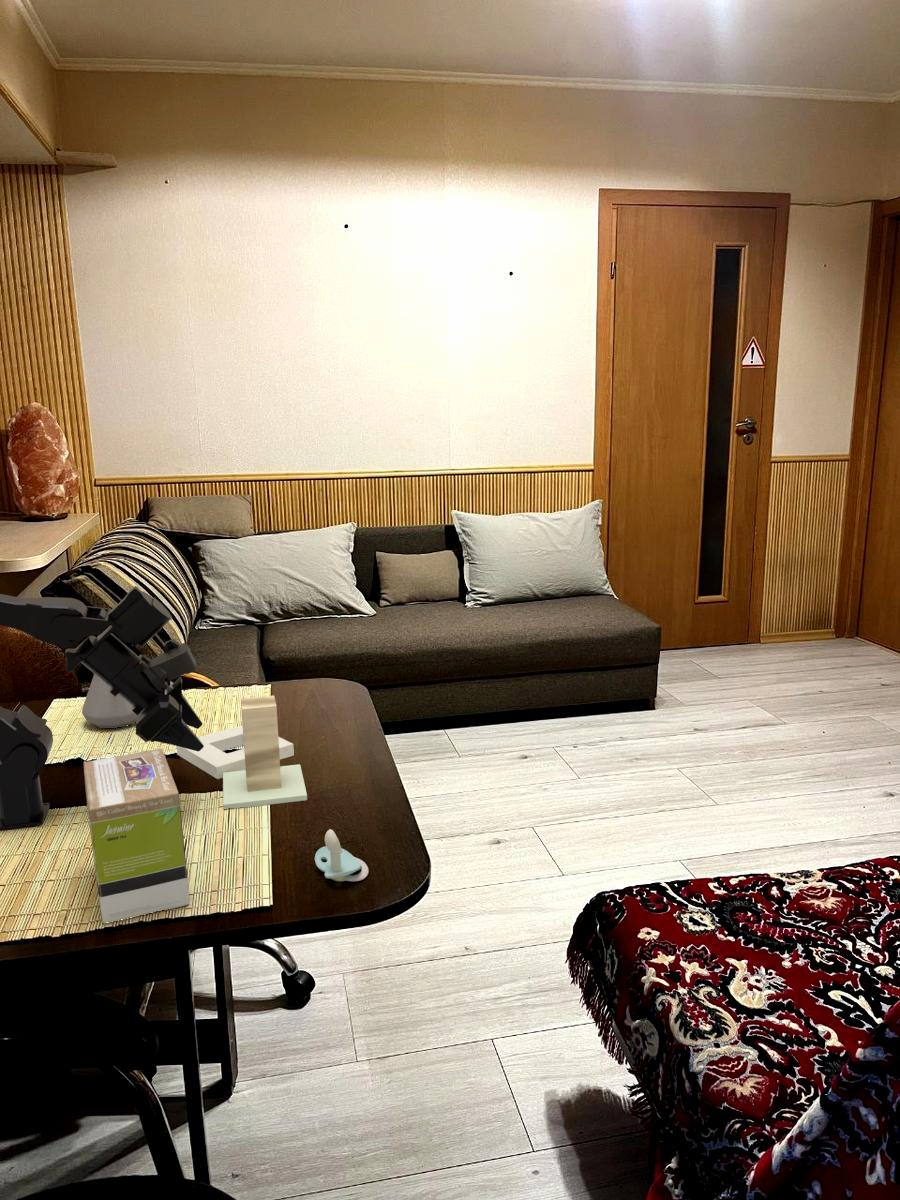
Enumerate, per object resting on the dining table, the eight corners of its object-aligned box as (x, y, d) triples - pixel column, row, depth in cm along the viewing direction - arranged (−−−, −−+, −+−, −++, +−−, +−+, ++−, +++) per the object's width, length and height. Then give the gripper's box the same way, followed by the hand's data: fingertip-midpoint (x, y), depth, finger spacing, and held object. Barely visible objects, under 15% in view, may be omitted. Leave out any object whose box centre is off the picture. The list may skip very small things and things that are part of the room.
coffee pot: (80, 717, 172) (72, 640, 169) (144, 707, 177) (137, 632, 174) (92, 756, 153) (83, 670, 150) (163, 743, 158) (155, 660, 155)
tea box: (93, 867, 117) (81, 758, 114) (174, 850, 121) (165, 745, 118) (101, 927, 103) (87, 806, 100) (192, 907, 107) (182, 789, 104)
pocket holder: (294, 755, 152) (293, 744, 152) (217, 779, 143) (216, 767, 143) (251, 733, 162) (250, 722, 162) (177, 754, 153) (176, 743, 153)
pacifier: (354, 856, 119) (310, 866, 116) (354, 811, 118) (310, 820, 115) (377, 882, 113) (331, 893, 110) (377, 835, 111) (331, 845, 109)
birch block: (281, 788, 138) (276, 705, 135) (247, 792, 136) (241, 709, 133) (279, 775, 142) (274, 695, 139) (246, 779, 141) (240, 698, 138)
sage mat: (307, 800, 135) (306, 795, 135) (223, 809, 132) (223, 804, 132) (300, 768, 147) (300, 764, 146) (223, 777, 144) (222, 772, 144)
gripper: (160, 646, 122) (244, 720, 127) (162, 613, 139) (237, 680, 145) (98, 704, 121) (186, 777, 127) (109, 664, 139) (185, 729, 144)
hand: (200, 737), depth 136 cm, fingers open, 9 cm apart
